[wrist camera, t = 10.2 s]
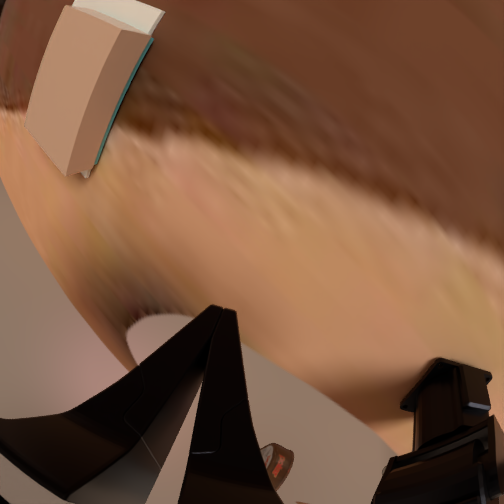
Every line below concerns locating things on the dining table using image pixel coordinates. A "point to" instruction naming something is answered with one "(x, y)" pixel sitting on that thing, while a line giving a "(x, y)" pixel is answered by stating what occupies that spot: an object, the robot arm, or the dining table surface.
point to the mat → (125, 18)
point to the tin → (277, 463)
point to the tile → (82, 85)
